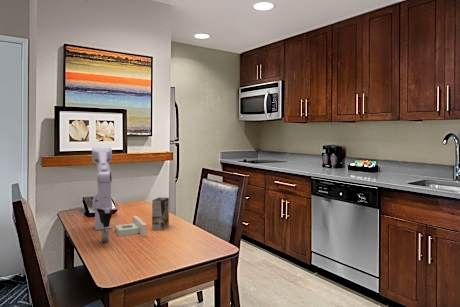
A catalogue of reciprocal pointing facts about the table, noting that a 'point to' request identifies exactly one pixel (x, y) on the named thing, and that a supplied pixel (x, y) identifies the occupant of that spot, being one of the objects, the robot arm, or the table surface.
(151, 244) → the table surface
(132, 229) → the socket block
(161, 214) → the coffee box
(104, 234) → the dowel
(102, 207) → the robot arm
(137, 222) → the board
